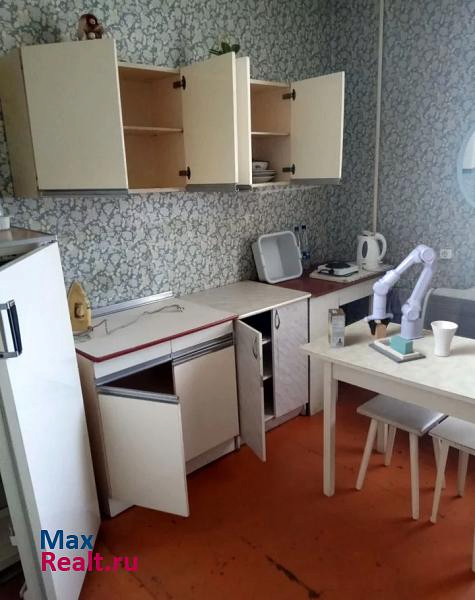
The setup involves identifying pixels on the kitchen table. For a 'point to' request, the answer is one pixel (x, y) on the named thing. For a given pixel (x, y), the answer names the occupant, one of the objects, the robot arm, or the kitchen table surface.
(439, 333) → the cup
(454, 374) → the kitchen table surface
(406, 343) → the teal bar
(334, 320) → the coffee box
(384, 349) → the shape board
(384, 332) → the terracotta block
